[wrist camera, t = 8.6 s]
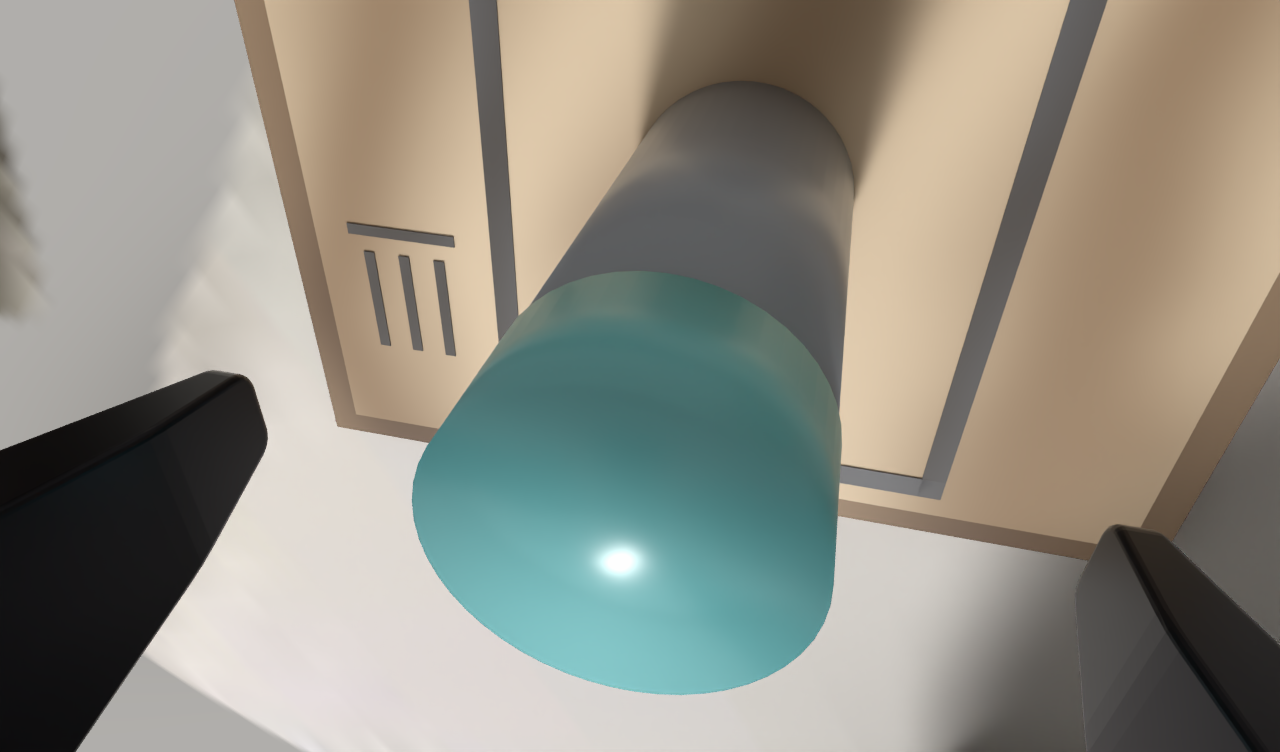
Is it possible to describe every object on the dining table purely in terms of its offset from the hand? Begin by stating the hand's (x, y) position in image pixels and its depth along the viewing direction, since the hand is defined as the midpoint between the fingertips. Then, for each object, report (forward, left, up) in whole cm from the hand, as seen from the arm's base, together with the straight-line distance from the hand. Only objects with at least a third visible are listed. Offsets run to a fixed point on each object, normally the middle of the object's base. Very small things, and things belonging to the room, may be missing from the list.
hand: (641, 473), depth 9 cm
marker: (0, 0, -8) cm, 8 cm away
